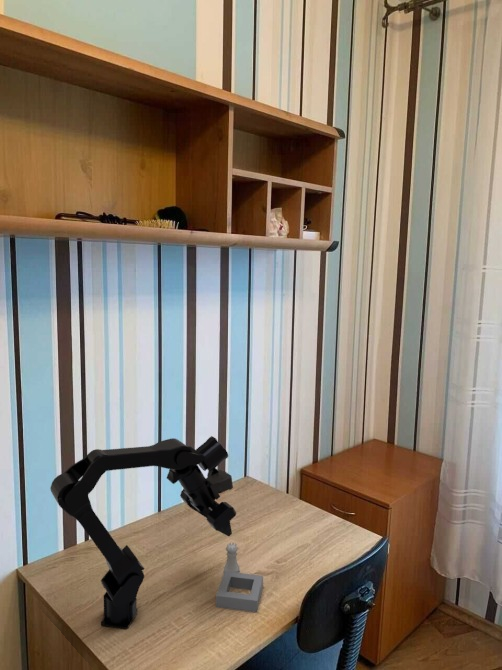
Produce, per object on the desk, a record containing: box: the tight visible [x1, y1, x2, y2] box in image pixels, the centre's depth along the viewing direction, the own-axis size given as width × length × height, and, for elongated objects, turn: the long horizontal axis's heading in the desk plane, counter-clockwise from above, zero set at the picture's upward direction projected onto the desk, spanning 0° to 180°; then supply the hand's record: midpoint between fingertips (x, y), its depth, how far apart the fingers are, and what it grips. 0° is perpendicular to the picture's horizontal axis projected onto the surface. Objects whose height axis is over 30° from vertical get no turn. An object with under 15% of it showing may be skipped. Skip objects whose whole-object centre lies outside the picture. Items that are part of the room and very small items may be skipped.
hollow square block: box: [215, 571, 264, 613], centre depth 128 cm, size 10×10×3 cm
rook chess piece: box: [222, 542, 241, 574], centre depth 137 cm, size 4×4×8 cm
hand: (220, 526), depth 132 cm, fingers open, 9 cm apart
